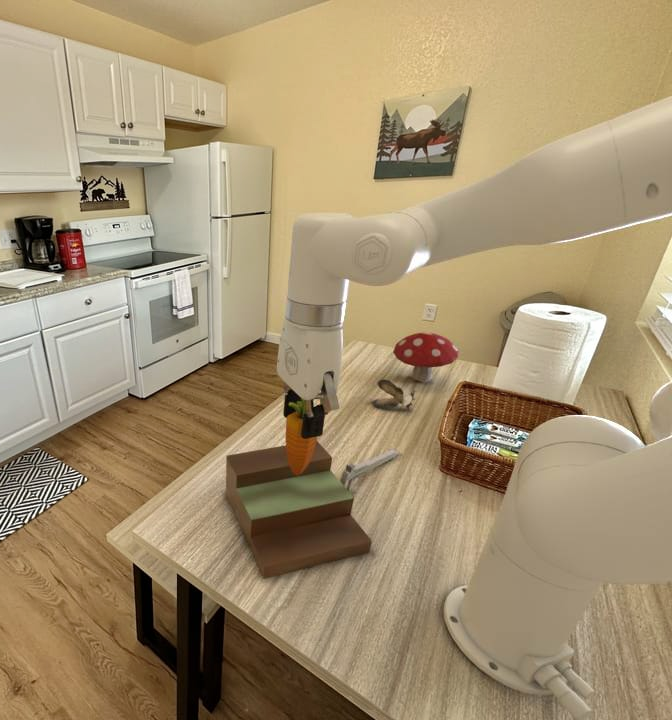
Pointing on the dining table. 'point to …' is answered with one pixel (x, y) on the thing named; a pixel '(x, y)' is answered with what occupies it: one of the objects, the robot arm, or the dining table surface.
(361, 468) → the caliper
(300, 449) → the carrot
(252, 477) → the brown stepped stand
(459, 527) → the dining table surface
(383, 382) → the grey brown forked piece
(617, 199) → the robot arm
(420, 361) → the decorative mushroom
